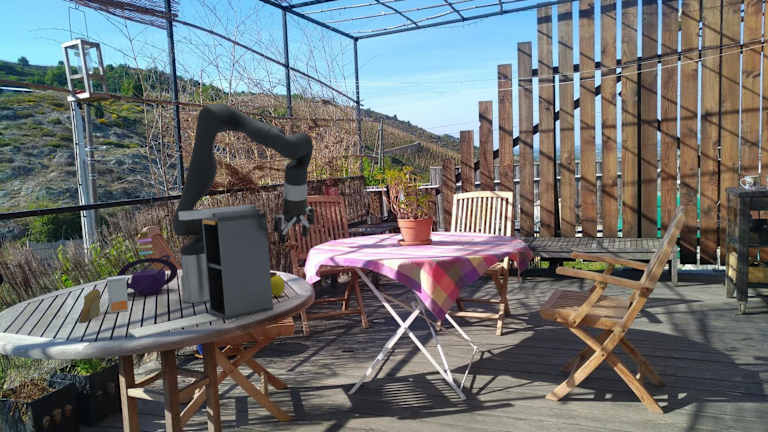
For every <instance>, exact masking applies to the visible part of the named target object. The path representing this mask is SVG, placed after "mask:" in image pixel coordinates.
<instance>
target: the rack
mask: <svg viewBox="0 0 768 432" xmlns="http://www.w3.org/2000/svg"><path fill="white" fill-rule="evenodd" d="M267 223H268V222H267V213H266V212H261V210H260V208H256V209H254V210H244V211H234V212H224V213H215V217H210V218H202V225H203V236H204V248H205V260H206V271H207V283H208V295H209V300H208V301H209V302H208V305H209V312H210V313H211V314H213V315H217V316H219V317H220V318H223V319H225V320H230V319H235V318H240V317H244V316H248V315H253V314H256V313H257V314H258V313H261V312H266V311H270V310H274V302H273V301H274V300H273V294H272V287H271V274H270V272H271V262H270V252H269V237H268V224H267Z"/></svg>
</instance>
